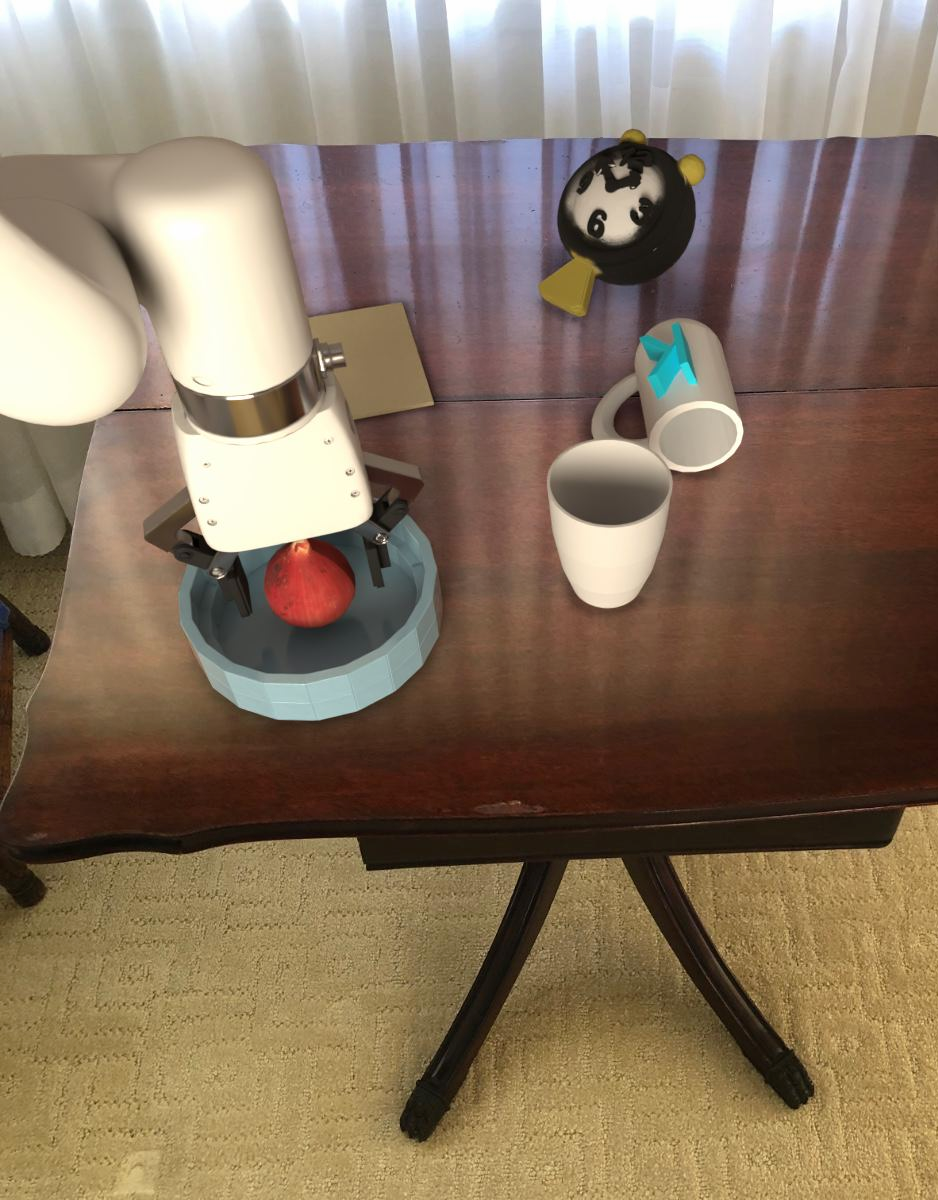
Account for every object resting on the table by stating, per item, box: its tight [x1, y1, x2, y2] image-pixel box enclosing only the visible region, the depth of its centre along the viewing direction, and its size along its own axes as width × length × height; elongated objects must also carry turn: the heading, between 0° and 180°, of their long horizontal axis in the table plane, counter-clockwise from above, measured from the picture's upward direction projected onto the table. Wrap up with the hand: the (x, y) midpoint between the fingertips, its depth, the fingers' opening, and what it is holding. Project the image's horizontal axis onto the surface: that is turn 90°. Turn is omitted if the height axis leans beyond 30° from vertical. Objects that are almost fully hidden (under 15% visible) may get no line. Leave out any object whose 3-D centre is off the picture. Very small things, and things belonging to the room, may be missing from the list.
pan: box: [177, 496, 444, 722], centre depth 74 cm, size 17×17×4 cm
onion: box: [263, 538, 356, 628], centre depth 72 cm, size 6×6×8 cm
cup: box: [546, 438, 674, 609], centre depth 75 cm, size 8×8×10 cm
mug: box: [591, 317, 744, 473], centre depth 86 cm, size 12×9×12 cm
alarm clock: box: [537, 128, 707, 317], centre depth 98 cm, size 12×15×15 cm
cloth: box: [308, 301, 435, 421], centre depth 93 cm, size 12×14×1 cm
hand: (311, 585), depth 73 cm, fingers open, 8 cm apart
